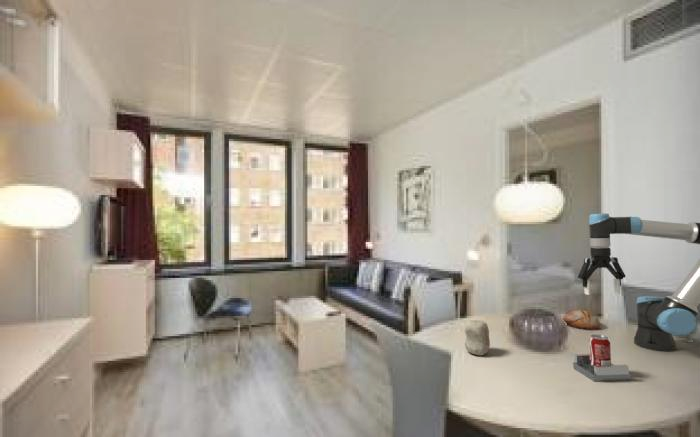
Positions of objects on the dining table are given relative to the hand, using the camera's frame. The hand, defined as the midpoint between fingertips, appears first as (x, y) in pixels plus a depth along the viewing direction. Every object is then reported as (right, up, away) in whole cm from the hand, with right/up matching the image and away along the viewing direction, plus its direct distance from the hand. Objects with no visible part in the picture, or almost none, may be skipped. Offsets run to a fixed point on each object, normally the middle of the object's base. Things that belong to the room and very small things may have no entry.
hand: (602, 293), depth 161 cm
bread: (+17, -27, +40) cm, 51 cm away
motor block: (-16, -27, -21) cm, 38 cm away
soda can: (-16, -25, -21) cm, 36 cm away
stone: (-55, -29, +5) cm, 62 cm away
